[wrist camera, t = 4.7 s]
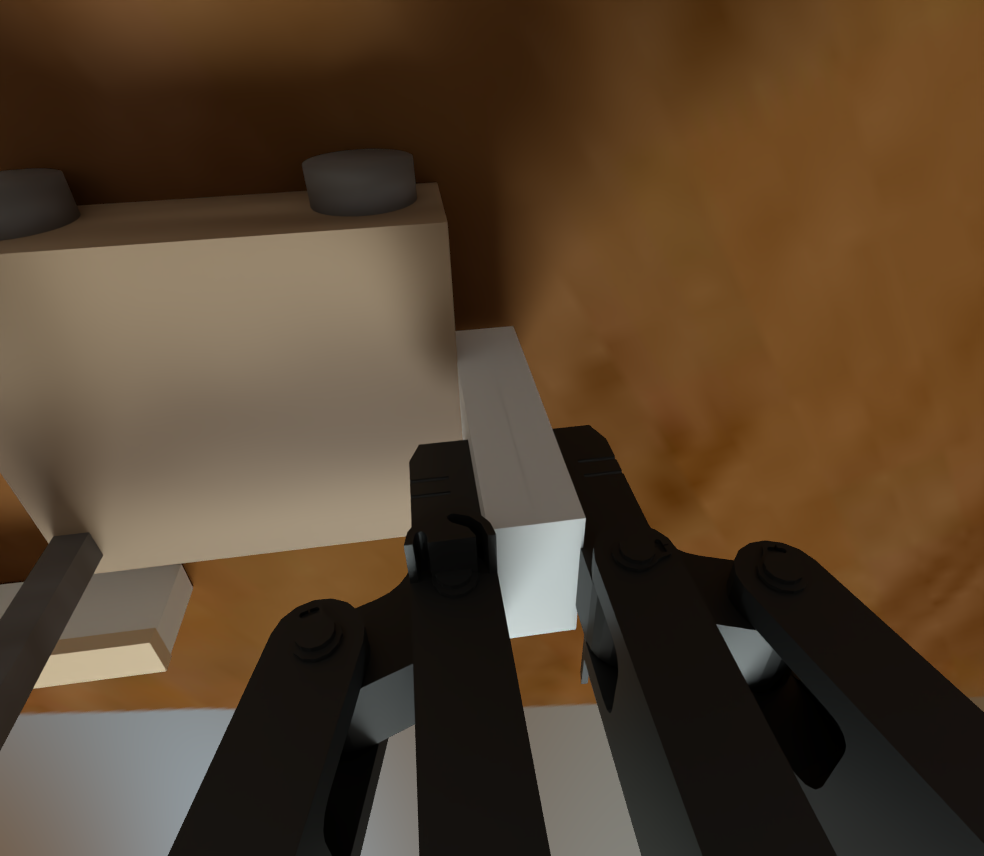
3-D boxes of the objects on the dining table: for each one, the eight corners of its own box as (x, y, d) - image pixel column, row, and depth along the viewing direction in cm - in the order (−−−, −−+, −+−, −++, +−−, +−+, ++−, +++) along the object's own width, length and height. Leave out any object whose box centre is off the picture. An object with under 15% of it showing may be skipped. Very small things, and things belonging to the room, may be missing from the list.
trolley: (-53, 171, 12) (-978, 510, 4) (434, 143, 13) (504, 368, 5) (130, 511, 18) (-94, 940, 10) (460, 474, 19) (513, 837, 10)
